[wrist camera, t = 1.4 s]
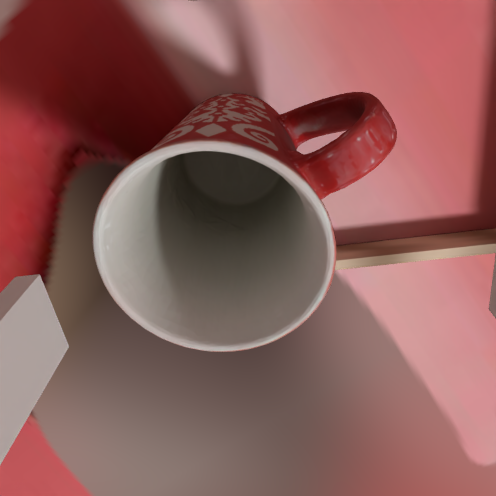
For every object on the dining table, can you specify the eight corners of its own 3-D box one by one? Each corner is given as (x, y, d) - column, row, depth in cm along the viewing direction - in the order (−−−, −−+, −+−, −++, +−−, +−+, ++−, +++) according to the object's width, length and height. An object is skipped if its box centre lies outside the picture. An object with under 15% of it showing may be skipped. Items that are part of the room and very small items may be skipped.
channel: (239, 265, 33) (236, 292, 30) (191, -15, 25) (180, -17, 22) (549, 231, 31) (581, 256, 28) (606, -83, 23) (661, -97, 20)
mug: (214, 242, 32) (185, 384, 20) (132, 130, 28) (38, 221, 16) (383, 149, 28) (470, 253, 17) (314, 8, 25) (363, 13, 13)
